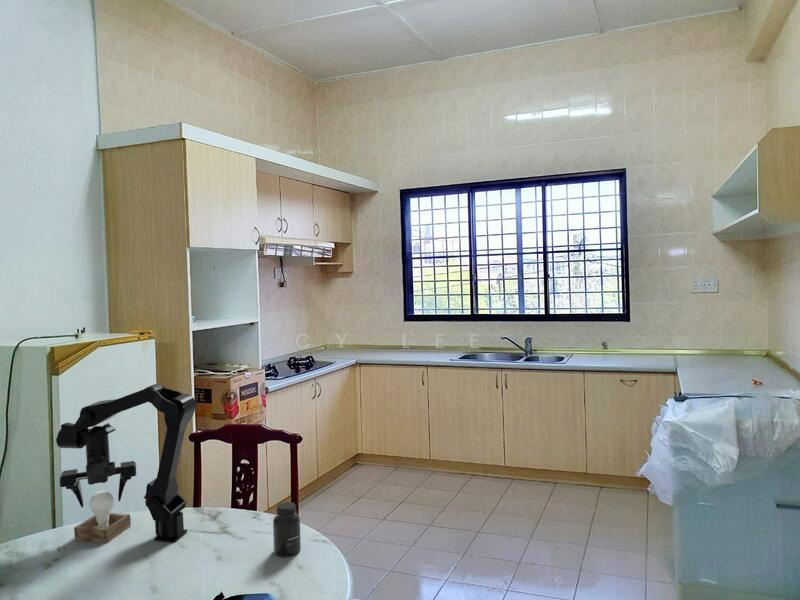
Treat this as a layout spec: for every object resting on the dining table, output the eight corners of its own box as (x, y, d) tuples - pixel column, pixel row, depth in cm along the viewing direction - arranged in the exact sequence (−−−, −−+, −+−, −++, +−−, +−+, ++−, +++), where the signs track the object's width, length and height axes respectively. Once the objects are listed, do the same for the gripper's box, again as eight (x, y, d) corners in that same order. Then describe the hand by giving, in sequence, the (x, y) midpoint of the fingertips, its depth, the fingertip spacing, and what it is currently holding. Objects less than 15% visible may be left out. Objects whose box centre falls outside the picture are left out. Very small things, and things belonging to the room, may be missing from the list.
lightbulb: (120, 526, 174) (118, 488, 173) (104, 536, 168) (101, 497, 167) (103, 523, 176) (100, 486, 175) (86, 533, 170) (83, 494, 169)
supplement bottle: (295, 558, 155) (293, 511, 154) (269, 556, 157) (267, 510, 156) (305, 545, 162) (303, 500, 161) (280, 543, 163) (278, 499, 162)
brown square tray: (130, 526, 176) (130, 514, 176) (107, 542, 167) (106, 530, 166) (99, 524, 178) (98, 512, 178) (74, 540, 169) (74, 527, 168)
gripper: (55, 462, 159) (59, 521, 161) (134, 451, 167) (138, 508, 168) (60, 450, 170) (64, 506, 171) (134, 440, 177) (137, 494, 178)
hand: (101, 503), depth 172 cm, fingers open, 9 cm apart
